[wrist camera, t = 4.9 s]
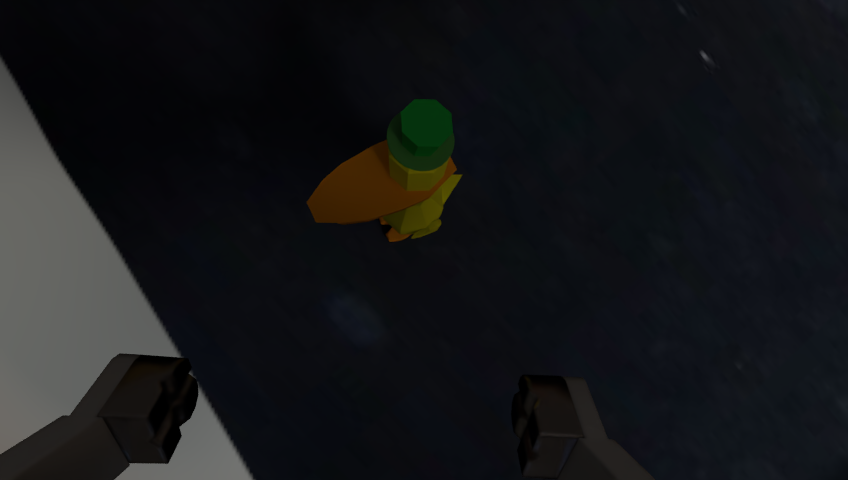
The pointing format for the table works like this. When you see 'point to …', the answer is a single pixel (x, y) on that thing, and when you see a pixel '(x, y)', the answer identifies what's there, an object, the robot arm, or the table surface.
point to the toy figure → (395, 176)
